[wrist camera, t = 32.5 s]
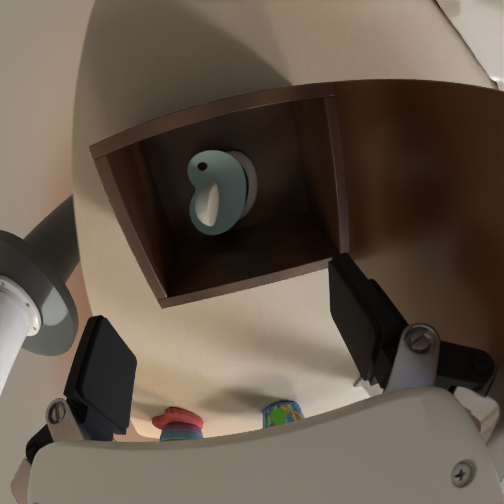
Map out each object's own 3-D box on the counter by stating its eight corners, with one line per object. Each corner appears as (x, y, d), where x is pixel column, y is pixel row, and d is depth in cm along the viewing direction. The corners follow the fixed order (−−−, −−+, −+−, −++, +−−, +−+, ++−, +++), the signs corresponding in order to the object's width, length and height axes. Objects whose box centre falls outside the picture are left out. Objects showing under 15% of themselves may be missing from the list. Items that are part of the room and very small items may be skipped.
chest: (173, 249, 27) (161, 308, 20) (130, 129, 21) (88, 146, 13) (314, 213, 27) (351, 261, 20) (294, 86, 20) (335, 81, 13)
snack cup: (248, 397, 45) (256, 446, 36) (305, 385, 45) (319, 432, 36) (260, 425, 53) (266, 463, 44) (305, 415, 53) (315, 453, 45)
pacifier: (258, 145, 22) (187, 146, 21) (275, 160, 17) (181, 162, 16) (255, 221, 26) (191, 224, 25) (268, 256, 21) (188, 261, 20)
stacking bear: (170, 405, 44) (170, 490, 29) (214, 417, 48) (221, 495, 33) (149, 420, 48) (146, 492, 33) (188, 431, 52) (191, 498, 37)
